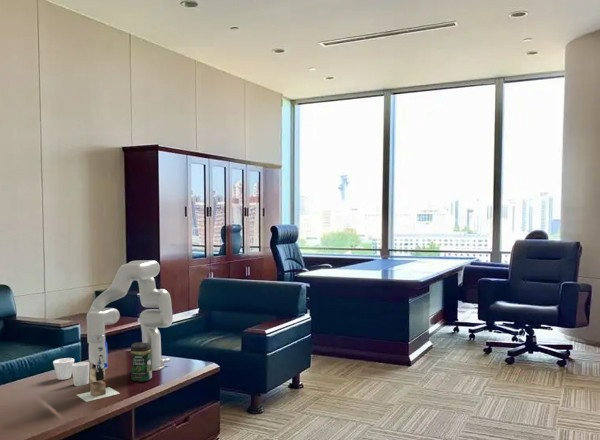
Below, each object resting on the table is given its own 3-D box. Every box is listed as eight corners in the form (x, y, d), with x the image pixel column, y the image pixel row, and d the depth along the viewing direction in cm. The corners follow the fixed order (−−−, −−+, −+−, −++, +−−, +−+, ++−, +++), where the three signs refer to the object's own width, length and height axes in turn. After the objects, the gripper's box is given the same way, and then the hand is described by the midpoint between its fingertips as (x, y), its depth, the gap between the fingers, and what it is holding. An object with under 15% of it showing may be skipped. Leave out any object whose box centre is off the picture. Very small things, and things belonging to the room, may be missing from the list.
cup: (78, 375, 271) (78, 357, 271) (68, 381, 261) (67, 363, 261) (60, 375, 272) (59, 358, 272) (49, 381, 262) (48, 363, 262)
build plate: (109, 389, 245) (109, 387, 245) (120, 396, 235) (120, 393, 235) (76, 397, 235) (76, 394, 235) (86, 404, 226) (86, 401, 226)
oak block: (101, 377, 239) (100, 366, 239) (105, 379, 235) (104, 368, 235) (90, 379, 236) (89, 368, 236) (93, 381, 232) (93, 370, 232)
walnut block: (101, 391, 239) (101, 380, 239) (105, 394, 235) (105, 382, 235) (90, 394, 236) (90, 383, 236) (94, 396, 232) (94, 385, 232)
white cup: (69, 385, 254) (68, 365, 254) (82, 381, 261) (81, 361, 261) (80, 387, 250) (79, 366, 251) (93, 382, 257) (92, 362, 257)
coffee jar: (128, 382, 256) (127, 344, 256) (136, 377, 264) (135, 340, 264) (147, 382, 254) (145, 344, 255) (154, 377, 262) (153, 340, 262)
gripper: (111, 339, 232) (113, 380, 231) (98, 334, 244) (99, 373, 244) (94, 342, 227) (95, 384, 227) (81, 337, 240) (82, 376, 239)
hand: (97, 378), depth 235 cm, fingers closed on oak block, 5 cm apart
